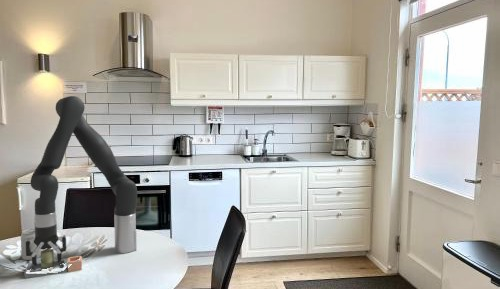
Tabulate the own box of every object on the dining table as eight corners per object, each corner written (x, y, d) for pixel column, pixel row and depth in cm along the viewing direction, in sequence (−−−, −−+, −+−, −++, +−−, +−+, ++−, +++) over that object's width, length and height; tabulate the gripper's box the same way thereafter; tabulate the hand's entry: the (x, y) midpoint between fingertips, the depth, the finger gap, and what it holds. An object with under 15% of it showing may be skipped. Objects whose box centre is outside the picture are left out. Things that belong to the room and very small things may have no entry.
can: (32, 261, 149) (31, 234, 148) (17, 260, 150) (16, 232, 149) (45, 254, 156) (45, 228, 155) (31, 252, 158) (30, 226, 156)
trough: (68, 263, 149) (67, 258, 148) (66, 272, 141) (66, 267, 140) (28, 268, 143) (28, 263, 143) (24, 278, 135) (24, 273, 135)
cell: (54, 267, 145) (54, 246, 144) (53, 271, 141) (52, 250, 140) (42, 268, 143) (41, 248, 142) (40, 273, 139) (39, 252, 138)
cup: (81, 264, 147) (81, 255, 147) (81, 270, 143) (81, 260, 142) (68, 266, 145) (68, 257, 145) (67, 272, 141) (67, 262, 140)
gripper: (66, 218, 146) (67, 257, 148) (26, 222, 140) (27, 262, 142) (65, 224, 139) (66, 264, 141) (22, 228, 133) (24, 270, 135)
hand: (47, 263), depth 141 cm, fingers open, 7 cm apart
